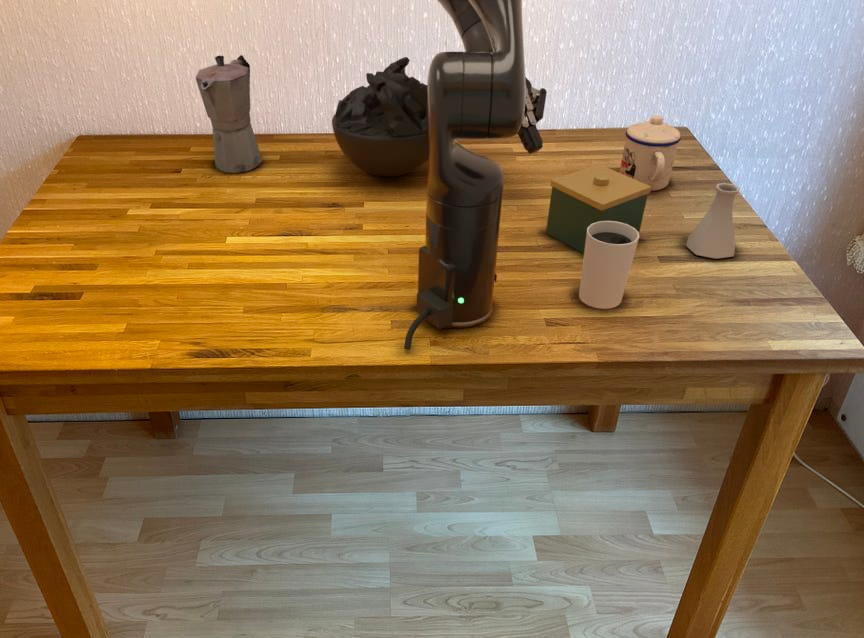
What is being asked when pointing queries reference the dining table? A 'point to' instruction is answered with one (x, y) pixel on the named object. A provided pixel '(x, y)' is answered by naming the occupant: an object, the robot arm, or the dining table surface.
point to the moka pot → (230, 114)
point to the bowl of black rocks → (385, 123)
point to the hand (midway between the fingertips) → (536, 150)
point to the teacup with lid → (650, 152)
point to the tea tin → (593, 203)
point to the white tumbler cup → (607, 263)
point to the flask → (716, 226)
